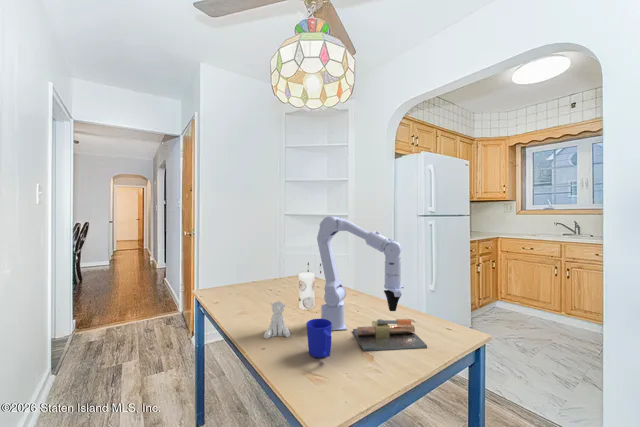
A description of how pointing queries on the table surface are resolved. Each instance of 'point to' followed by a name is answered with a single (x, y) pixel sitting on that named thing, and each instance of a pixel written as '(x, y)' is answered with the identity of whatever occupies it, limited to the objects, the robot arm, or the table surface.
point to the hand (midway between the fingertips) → (392, 310)
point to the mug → (319, 337)
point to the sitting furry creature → (277, 322)
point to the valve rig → (388, 337)
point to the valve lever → (395, 322)
